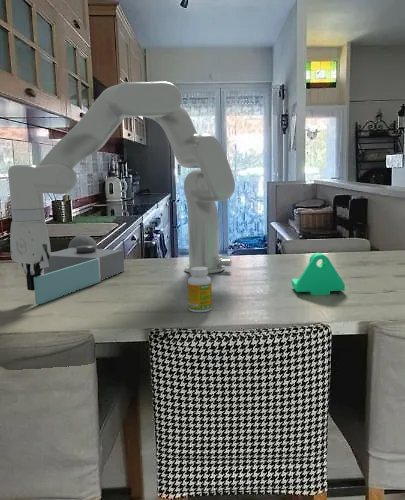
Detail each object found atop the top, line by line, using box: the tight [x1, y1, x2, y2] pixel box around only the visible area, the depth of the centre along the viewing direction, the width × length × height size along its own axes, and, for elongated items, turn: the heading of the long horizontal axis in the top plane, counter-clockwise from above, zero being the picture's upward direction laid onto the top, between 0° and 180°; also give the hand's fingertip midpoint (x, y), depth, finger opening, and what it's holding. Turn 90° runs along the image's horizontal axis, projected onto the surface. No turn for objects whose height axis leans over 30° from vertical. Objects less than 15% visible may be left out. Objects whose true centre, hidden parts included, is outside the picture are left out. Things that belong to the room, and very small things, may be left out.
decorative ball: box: [67, 234, 98, 249], centre depth 169 cm, size 10×10×10 cm
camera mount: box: [291, 252, 346, 296], centre depth 123 cm, size 12×8×10 cm, turn 90°
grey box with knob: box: [43, 245, 125, 281], centre depth 150 cm, size 20×14×9 cm
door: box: [34, 258, 102, 306], centre depth 128 cm, size 26×1×7 cm, turn 156°
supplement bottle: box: [187, 267, 213, 313], centre depth 109 cm, size 5×5×10 cm
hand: (34, 289), depth 120 cm, fingers closed
